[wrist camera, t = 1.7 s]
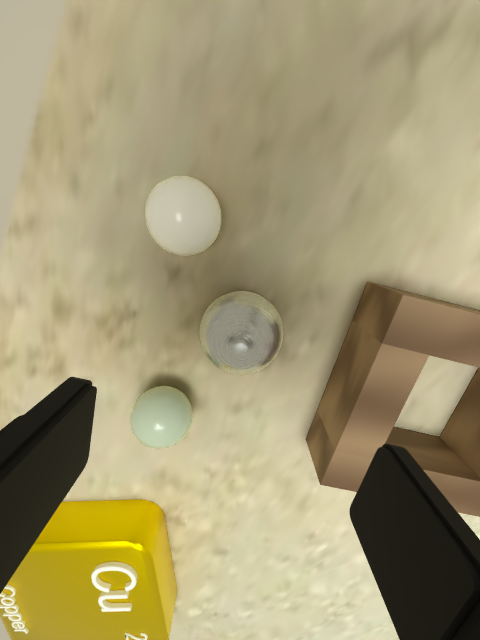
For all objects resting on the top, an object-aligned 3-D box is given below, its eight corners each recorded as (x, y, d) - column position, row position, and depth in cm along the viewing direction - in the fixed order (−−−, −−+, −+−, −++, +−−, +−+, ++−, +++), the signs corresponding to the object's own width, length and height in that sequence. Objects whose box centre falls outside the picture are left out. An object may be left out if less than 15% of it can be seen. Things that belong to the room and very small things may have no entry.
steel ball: (213, 275, 20) (204, 291, 14) (286, 294, 20) (302, 315, 15) (198, 344, 21) (184, 380, 16) (266, 360, 22) (274, 400, 16)
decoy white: (163, 174, 18) (139, 156, 13) (230, 193, 18) (227, 181, 14) (152, 244, 19) (127, 247, 15) (215, 260, 19) (208, 267, 15)
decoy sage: (146, 369, 22) (124, 402, 18) (201, 382, 22) (192, 417, 18) (138, 415, 23) (116, 456, 19) (190, 426, 23) (180, 469, 19)
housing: (367, 281, 20) (403, 294, 15) (543, 327, 21) (622, 351, 16) (305, 439, 24) (320, 484, 19) (455, 470, 25) (500, 520, 20)
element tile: (6, 499, 26) (-42, 554, 22) (163, 494, 26) (147, 549, 22) (46, 601, 31) (12, 665, 26) (180, 597, 31) (169, 661, 26)
